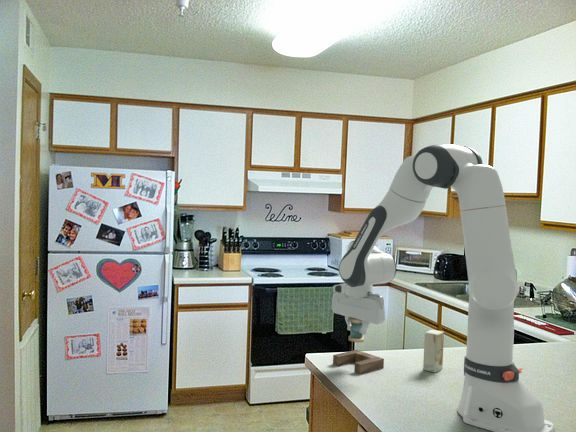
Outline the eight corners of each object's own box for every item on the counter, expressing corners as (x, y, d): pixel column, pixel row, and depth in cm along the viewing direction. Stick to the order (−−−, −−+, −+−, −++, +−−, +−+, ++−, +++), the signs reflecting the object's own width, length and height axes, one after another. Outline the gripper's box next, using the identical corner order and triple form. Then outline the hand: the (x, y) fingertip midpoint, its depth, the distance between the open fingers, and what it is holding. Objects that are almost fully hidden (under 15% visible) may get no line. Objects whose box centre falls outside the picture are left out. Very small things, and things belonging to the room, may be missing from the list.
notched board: (383, 367, 170) (383, 358, 170) (360, 374, 163) (360, 364, 163) (356, 358, 179) (356, 349, 179) (332, 364, 172) (333, 355, 172)
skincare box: (435, 373, 167) (437, 334, 166) (422, 370, 169) (424, 332, 169) (443, 368, 172) (444, 331, 171) (430, 365, 174) (431, 328, 174)
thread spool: (367, 340, 170) (368, 319, 170) (356, 343, 167) (357, 321, 167) (355, 337, 174) (356, 316, 174) (345, 339, 171) (346, 318, 170)
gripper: (390, 294, 164) (388, 338, 164) (342, 284, 180) (341, 324, 180) (377, 295, 160) (374, 341, 160) (329, 285, 175) (327, 326, 176)
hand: (356, 332), depth 170 cm, fingers closed on thread spool, 4 cm apart
